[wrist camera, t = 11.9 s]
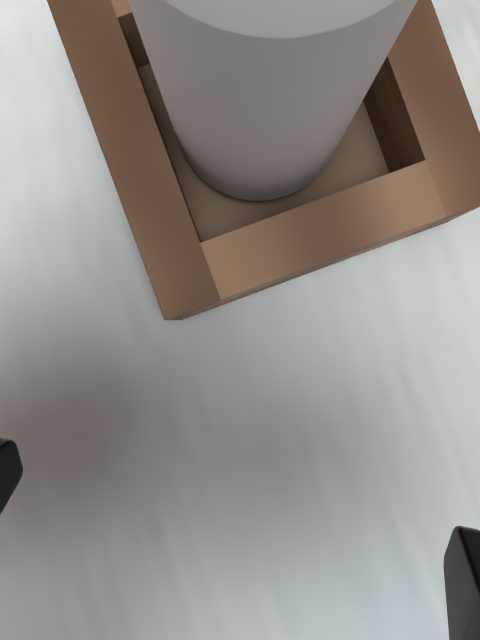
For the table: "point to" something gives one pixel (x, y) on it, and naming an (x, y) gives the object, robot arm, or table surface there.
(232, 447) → the table surface
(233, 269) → the socket block
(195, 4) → the beverage can
